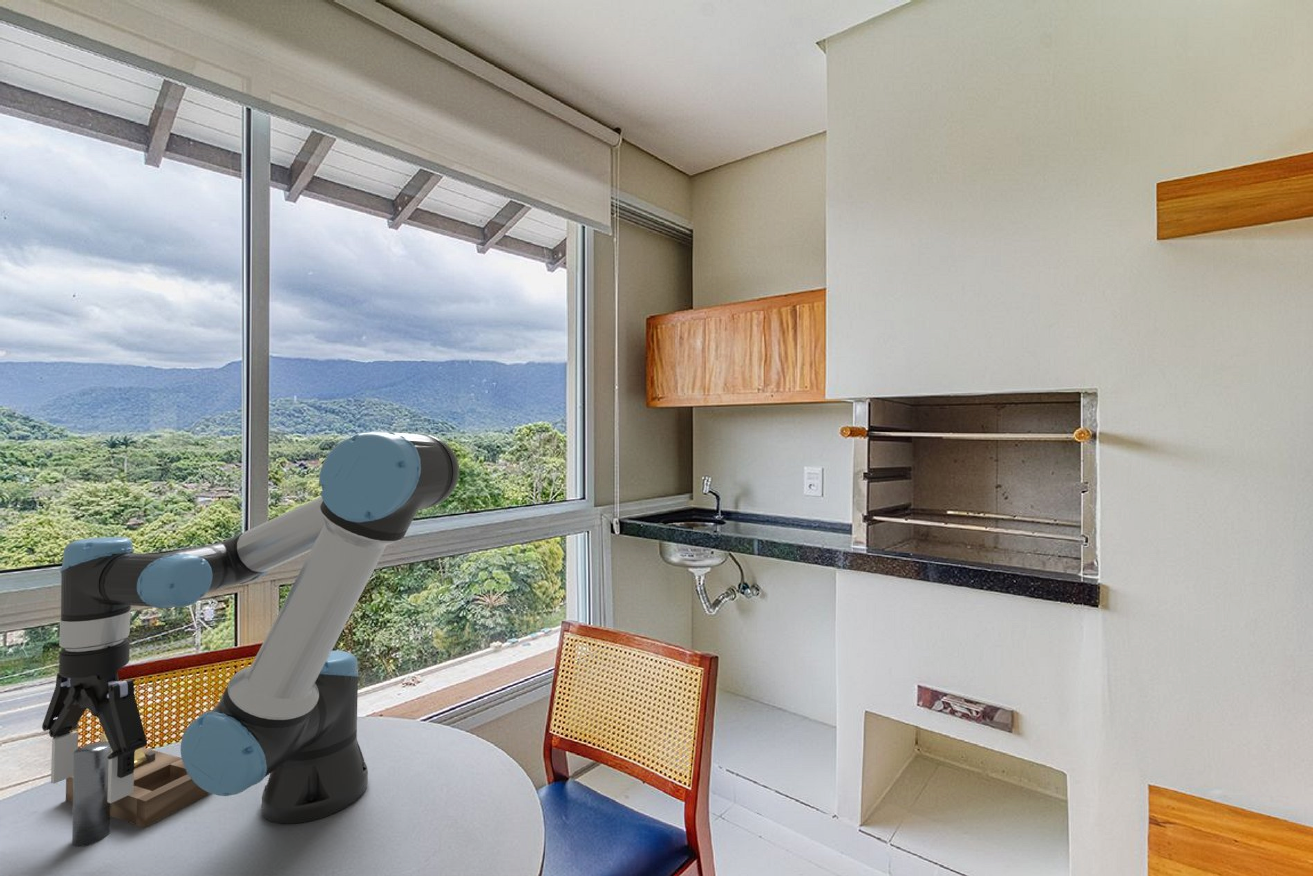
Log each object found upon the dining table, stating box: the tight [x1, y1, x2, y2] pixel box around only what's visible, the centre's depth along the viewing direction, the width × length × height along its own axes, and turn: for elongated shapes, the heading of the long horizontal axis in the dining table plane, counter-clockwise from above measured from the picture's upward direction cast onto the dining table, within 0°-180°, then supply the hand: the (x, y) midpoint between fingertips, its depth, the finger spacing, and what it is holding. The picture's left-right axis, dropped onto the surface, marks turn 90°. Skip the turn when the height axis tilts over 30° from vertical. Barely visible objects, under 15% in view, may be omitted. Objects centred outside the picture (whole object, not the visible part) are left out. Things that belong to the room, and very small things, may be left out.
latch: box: [99, 732, 147, 767], centre depth 97 cm, size 7×4×1 cm
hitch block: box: [65, 747, 211, 828], centre depth 96 cm, size 20×10×5 cm, turn 70°
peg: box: [71, 741, 111, 847], centre depth 86 cm, size 4×4×13 cm
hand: (91, 788), depth 86 cm, fingers open, 13 cm apart
